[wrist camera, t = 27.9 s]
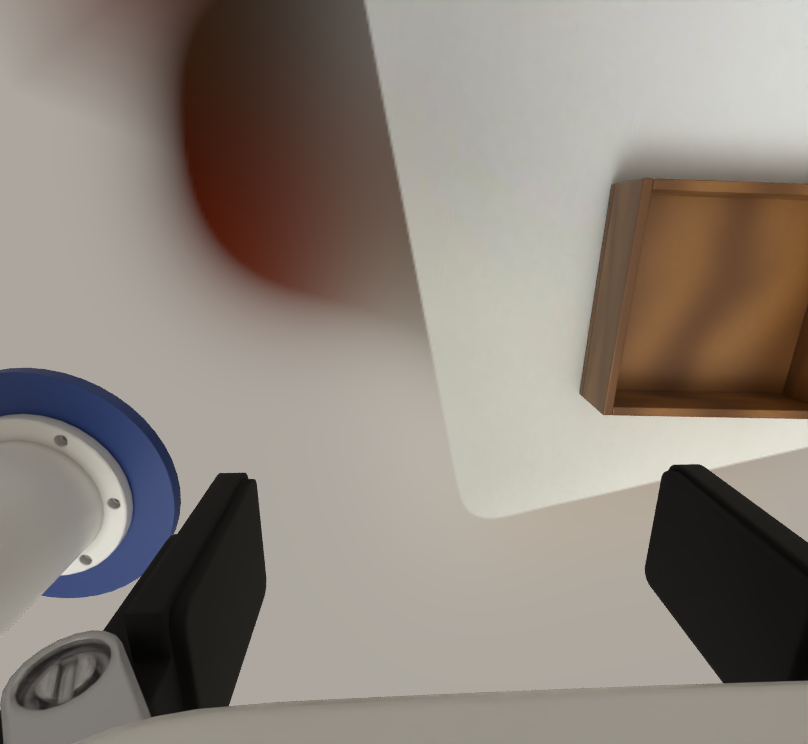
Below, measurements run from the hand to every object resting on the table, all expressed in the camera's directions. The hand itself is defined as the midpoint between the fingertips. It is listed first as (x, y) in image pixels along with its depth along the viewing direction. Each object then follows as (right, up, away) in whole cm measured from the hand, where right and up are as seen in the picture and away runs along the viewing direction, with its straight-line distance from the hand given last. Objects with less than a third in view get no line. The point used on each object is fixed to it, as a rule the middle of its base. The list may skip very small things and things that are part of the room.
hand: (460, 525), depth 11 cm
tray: (+19, +9, +21) cm, 30 cm away
